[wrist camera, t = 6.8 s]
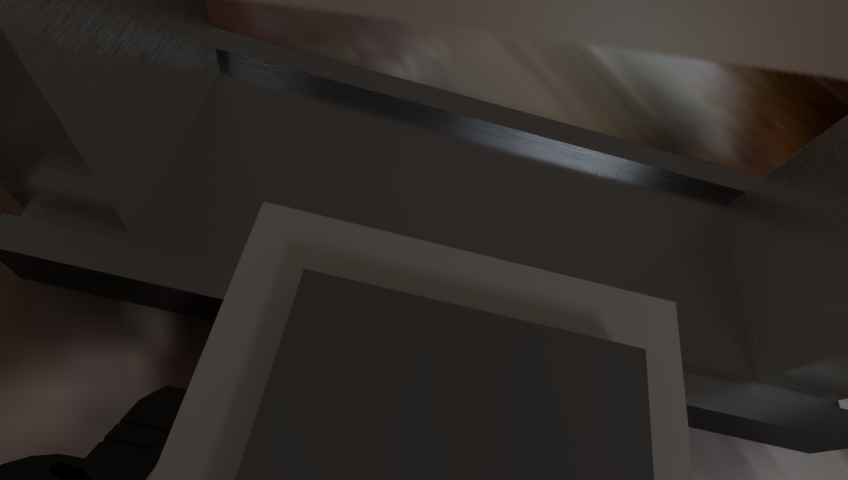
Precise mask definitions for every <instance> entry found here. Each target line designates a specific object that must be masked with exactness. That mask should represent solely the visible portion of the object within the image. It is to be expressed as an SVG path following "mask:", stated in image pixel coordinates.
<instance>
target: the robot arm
mask: <svg viewBox="0 0 848 480" xmlns="http://www.w3.org/2000/svg"><path fill="white" fill-rule="evenodd" d="M186 392H187V389H182V388H177V387H173V386H168V385H167V386H165V387H163V388H161V389H159V390H157V391H155V392H153V393H151V394H149V395H147V396H145V397H143V398H142V399H140V400H139V401H138V402H137V403H136V404H135V405H134V406H133V407H132V408H131V409H130V410H129V411H128V413H127V414H126V415H125V416H124V417H123V418H122V419H121V421H120V423H119V424H116V425H115V426H114V428H113V429H112V430H111V431H110V432H109V433H108V434H107V435H106V436H105V438H104V440H103V442H100V443H99V444H98V445H97V446H96V447H95V448H94V449H93V450H92V451H91V452H90V453H89V454H88V456H87V457H86V458H85V459H84V458H80V457H74V456H68V455H62V454H53V455H40V456H30V457H26V458H23V459H19V460H16V461H12V462H9V463H5V464H2V465H0V480H151V478H152V476H153V473H154V471H155V468H156V466H157V463H158V461H159V458H160V456H161V453H162V451H163V448H164V446H165V444H166V441H167V439H168V436H169V434H170V431H171V429H172V426H173V424H174V421H175V419H176V416H177V414H178V411H179V409H180V406H181V404H182V401H183V399H184V396H185V394H186Z"/></svg>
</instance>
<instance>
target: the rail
mask: <svg viewBox="0 0 848 480" xmlns="http://www.w3.org/2000/svg"><path fill="white" fill-rule="evenodd" d="M0 184H1V185H2V186H3V187H4V188H5V189H6V190H7V191H8V192H9V193H10V195H11V196H12V197H13V198H14V199H15V200H16V201H17V202H18V203H19V204H20V205H21V206H22V208H23V209H24V211H23V213H22V214H21V215H20V217H18V216H14V215H10V214H5V213H3V214H2V215H1V217H0V261H1V262H2V263H3V264H5V265H6V266H7V267H8V268H9V269H11V270H12V271H13V272H14V273H15V274H17V275H18V276H19V277H20V278H24V279H28V280H33V281H37V282H42V283H46V284H51V285H55V286H60V287H64V288H69V289H73V290H78V291H82V292H87V293H91V294H96V295H100V296H105V297H109V298H114V299H118V300H123V301H127V302H132V303H136V304H141V305H145V306H150V307H154V308H159V309H163V310H168V311H172V312H177V313H181V314H186V315H190V316H195V317H199V318H204V319H208V320H212V321H215V320H216V317H217V315H218V312H219V310H220V307H221V305H222V302H223V300H224V298H225V295H226V293H227V290H228V288H229V285H230V283H231V280H232V278H233V275H234V273H235V270H236V268H237V265H238V263H239V260H240V258H241V255H242V253H243V250H244V248H245V246H246V243H247V241H248V238H249V236H250V233H251V231H252V228H253V226H254V223H255V221H256V218H257V216H258V213H259V211H260V208H261V206H262V203H263V201H264V202H268V203H272V204H276V205H280V206H285V207H289V208H293V209H297V210H301V211H305V212H309V213H313V214H317V215H321V216H325V217H329V218H334V219H338V220H342V221H346V222H350V223H354V224H358V225H362V226H366V227H370V228H374V229H378V230H383V231H387V232H391V233H395V234H399V235H403V236H407V237H411V238H415V239H419V240H423V241H427V242H432V243H436V244H440V245H444V246H448V247H452V248H456V249H460V250H464V251H468V252H472V253H476V254H481V255H485V256H489V257H493V258H497V259H501V260H505V261H509V262H513V263H517V264H521V265H525V266H530V267H534V268H538V269H542V270H546V271H550V272H554V273H558V274H562V275H566V276H570V277H574V278H579V279H583V280H587V281H591V282H595V283H599V284H603V285H607V286H611V287H615V288H619V289H623V290H628V291H632V292H636V293H640V294H644V295H648V296H652V297H656V298H660V299H664V300H668V301H672V302H676V311H677V321H678V330H679V340H680V350H681V360H682V369H683V379H684V389H685V399H686V408H687V418H688V427H693V428H697V429H702V430H706V431H711V432H715V433H720V434H724V435H729V436H733V437H738V438H742V439H747V440H751V441H756V442H760V443H765V444H769V445H773V446H778V447H782V448H787V449H791V450H796V451H800V452H805V453H809V454H810V453H818V452H825V451H833V450H841V449H848V410H846V409H842V408H840V407H839V403H838V400H842V399H846V398H848V115H846V116H845V117H844V118H842V119H841V120H840V121H838V122H837V123H836V124H834V125H833V126H832V127H830V128H829V129H828V130H826V131H825V132H824V133H822V134H821V135H820V136H818V137H817V138H816V139H814V140H813V141H812V142H810V143H809V144H808V145H806V146H805V147H804V148H802V149H801V150H800V151H798V152H797V153H796V154H794V155H793V156H792V157H790V158H789V159H788V160H786V161H785V162H784V163H782V164H781V165H780V166H778V167H777V168H776V169H774V170H773V171H772V172H770V173H769V174H768V175H766V176H765V177H764V178H762V177H758V176H754V175H751V174H747V173H743V172H740V171H736V170H732V169H729V168H725V167H721V166H718V165H714V164H710V163H707V162H703V161H700V160H696V159H692V158H689V157H685V156H681V155H678V154H674V153H670V152H667V151H663V150H659V149H656V148H652V147H648V146H645V145H641V144H638V143H634V142H630V141H627V140H623V139H619V138H616V137H612V136H608V135H605V134H601V133H597V132H594V131H590V130H586V129H583V128H579V127H576V126H572V125H568V124H565V123H561V122H557V121H554V120H550V119H546V118H543V117H539V116H535V115H532V114H528V113H524V112H521V111H517V110H514V109H510V108H506V107H503V106H499V105H495V104H492V103H488V102H484V101H481V100H477V99H473V98H470V97H466V96H462V95H459V94H455V93H451V92H448V91H444V90H441V89H437V88H433V87H430V86H426V85H422V84H419V83H415V82H411V81H408V80H404V79H400V78H397V77H393V76H389V75H386V74H382V73H379V72H375V71H371V70H368V69H364V68H360V67H357V66H353V65H349V64H346V63H342V62H338V61H335V60H331V59H327V58H324V57H320V56H317V55H313V54H309V53H306V52H302V51H298V50H295V49H291V48H287V47H284V46H280V45H276V44H273V43H269V42H265V41H262V40H258V39H255V38H251V37H247V36H244V35H240V34H236V33H233V32H229V31H225V30H222V29H218V28H214V27H211V24H210V19H209V14H208V10H207V5H206V0H0Z"/></svg>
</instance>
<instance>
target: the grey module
mask: <svg viewBox="0 0 848 480" xmlns="http://www.w3.org/2000/svg"><path fill="white" fill-rule="evenodd" d="M151 480H694V477H693V467H692V457H691V447H690V438H689V428H688V418H687V408H686V399H685V389H684V379H683V369H682V360H681V350H680V340H679V330H678V321H677V311H676V302H672V301H668V300H664V299H660V298H656V297H652V296H648V295H644V294H640V293H636V292H632V291H628V290H623V289H619V288H615V287H611V286H607V285H603V284H599V283H595V282H591V281H587V280H583V279H579V278H574V277H570V276H566V275H562V274H558V273H554V272H550V271H546V270H542V269H538V268H534V267H530V266H525V265H521V264H517V263H513V262H509V261H505V260H501V259H497V258H493V257H489V256H485V255H481V254H476V253H472V252H468V251H464V250H460V249H456V248H452V247H448V246H444V245H440V244H436V243H432V242H427V241H423V240H419V239H415V238H411V237H407V236H403V235H399V234H395V233H391V232H387V231H383V230H378V229H374V228H370V227H366V226H362V225H358V224H354V223H350V222H346V221H342V220H338V219H334V218H329V217H325V216H321V215H317V214H313V213H309V212H305V211H301V210H297V209H293V208H289V207H285V206H280V205H276V204H272V203H268V202H264V201H263V203H262V206H261V208H260V211H259V213H258V216H257V218H256V221H255V223H254V226H253V228H252V231H251V233H250V236H249V238H248V241H247V243H246V246H245V248H244V250H243V253H242V255H241V258H240V260H239V263H238V265H237V268H236V270H235V273H234V275H233V278H232V280H231V283H230V285H229V288H228V290H227V293H226V295H225V298H224V300H223V302H222V305H221V307H220V310H219V312H218V315H217V317H216V320H215V322H214V325H213V327H212V330H211V332H210V335H209V337H208V340H207V342H206V345H205V347H204V349H203V352H202V354H201V357H200V359H199V362H198V364H197V367H196V369H195V372H194V374H193V377H192V379H191V382H190V384H189V387H188V389H187V392H186V394H185V396H184V399H183V401H182V404H181V406H180V409H179V411H178V414H177V416H176V419H175V421H174V424H173V426H172V429H171V431H170V434H169V436H168V439H167V441H166V444H165V446H164V448H163V451H162V453H161V456H160V458H159V461H158V463H157V466H156V468H155V471H154V473H153V476H152V478H151Z"/></svg>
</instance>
